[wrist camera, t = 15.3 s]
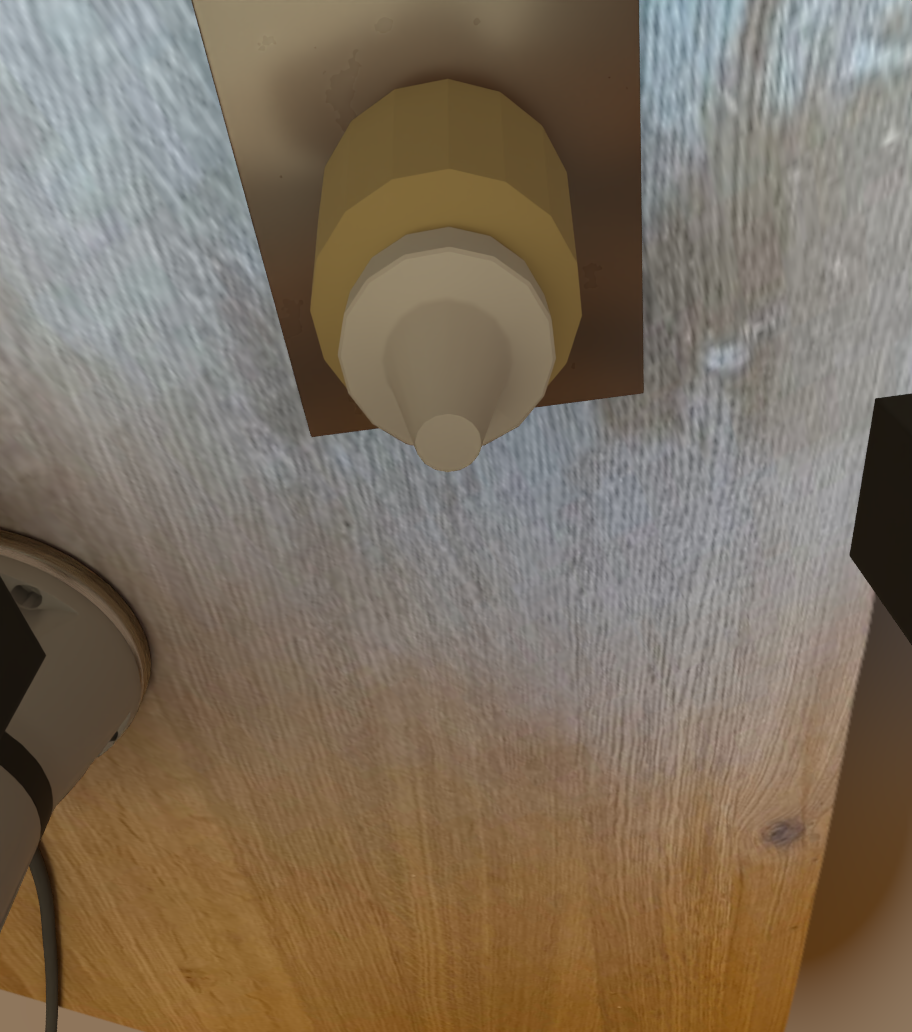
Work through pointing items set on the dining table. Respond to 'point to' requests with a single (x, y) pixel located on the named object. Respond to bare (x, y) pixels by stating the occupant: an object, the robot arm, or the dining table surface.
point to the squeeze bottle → (445, 267)
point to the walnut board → (417, 60)
